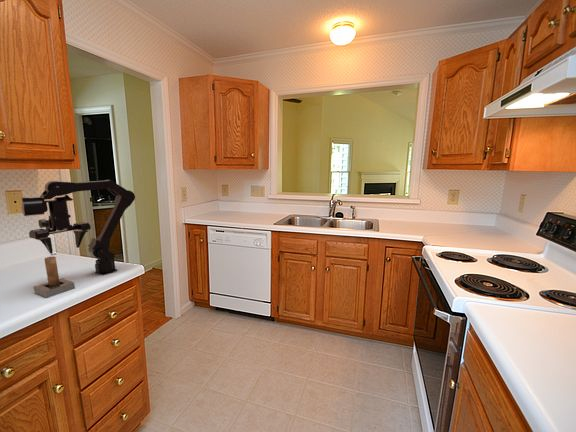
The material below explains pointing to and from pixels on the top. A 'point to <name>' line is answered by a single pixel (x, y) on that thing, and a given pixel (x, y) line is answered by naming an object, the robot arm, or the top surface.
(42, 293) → the square hole frame
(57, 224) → the robot arm
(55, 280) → the walnut pin
